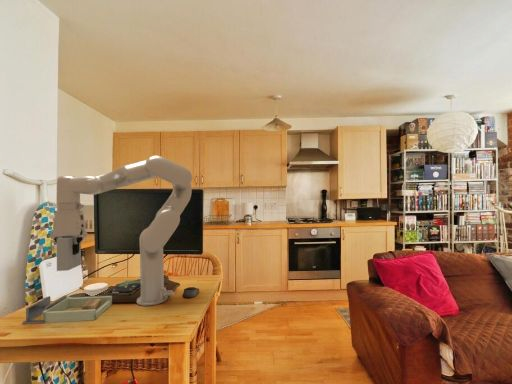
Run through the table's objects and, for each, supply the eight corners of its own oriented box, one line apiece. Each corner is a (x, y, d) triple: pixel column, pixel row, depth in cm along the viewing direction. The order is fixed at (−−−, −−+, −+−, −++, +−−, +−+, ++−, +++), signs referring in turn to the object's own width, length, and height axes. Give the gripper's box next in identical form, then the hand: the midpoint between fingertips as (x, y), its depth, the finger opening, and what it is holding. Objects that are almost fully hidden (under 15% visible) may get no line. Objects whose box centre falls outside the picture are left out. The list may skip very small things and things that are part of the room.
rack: (112, 304, 117) (112, 294, 117) (94, 320, 102) (94, 309, 102) (67, 306, 115) (67, 296, 115) (42, 322, 100) (42, 311, 100)
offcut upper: (100, 304, 113) (100, 298, 113) (94, 311, 106) (93, 305, 106) (89, 305, 112) (89, 299, 112) (81, 312, 105) (81, 306, 105)
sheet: (81, 264, 113) (80, 235, 113) (68, 270, 104) (67, 238, 104) (70, 264, 113) (70, 235, 113) (56, 270, 104) (56, 238, 104)
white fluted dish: (99, 288, 138) (99, 281, 138) (112, 291, 134) (112, 283, 134) (79, 295, 129) (79, 287, 129) (92, 298, 125) (92, 290, 125)
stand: (69, 306, 116) (69, 294, 116) (44, 323, 100) (44, 309, 100) (50, 307, 115) (50, 294, 115) (22, 324, 99) (22, 310, 100)
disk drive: (131, 296, 127) (144, 285, 142) (131, 290, 127) (144, 280, 142) (109, 296, 127) (124, 285, 142) (109, 290, 127) (124, 280, 142)
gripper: (95, 206, 113) (96, 251, 113) (52, 207, 112) (52, 253, 112) (86, 207, 106) (86, 255, 106) (39, 208, 104) (40, 257, 104)
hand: (69, 253), depth 109 cm, fingers closed on sheet, 4 cm apart
